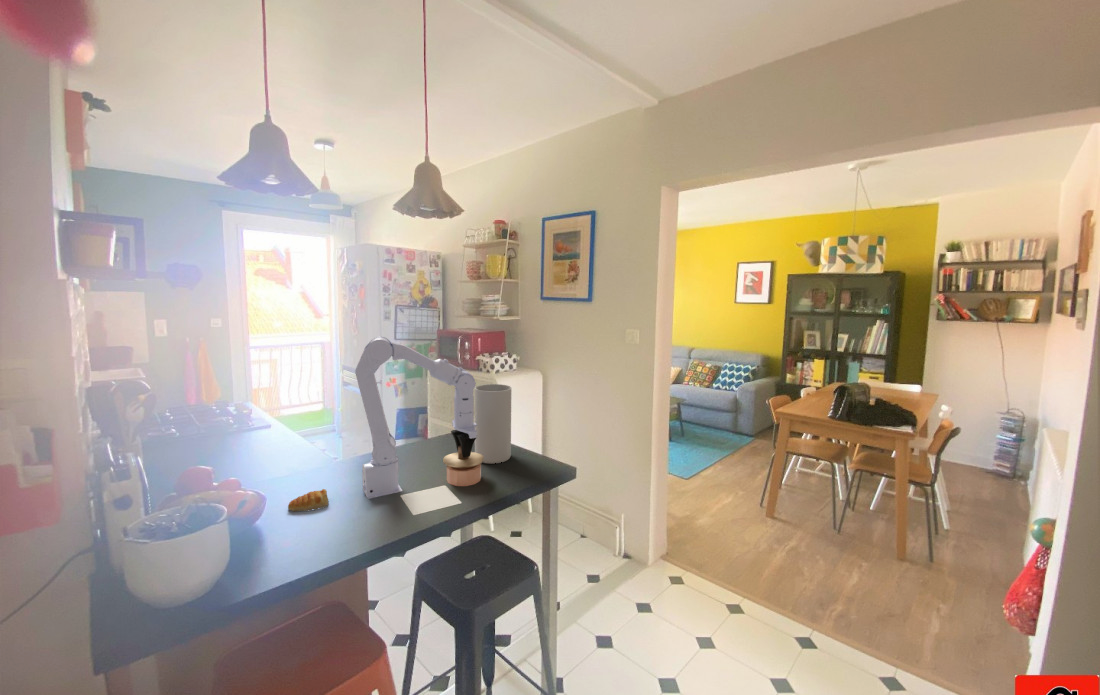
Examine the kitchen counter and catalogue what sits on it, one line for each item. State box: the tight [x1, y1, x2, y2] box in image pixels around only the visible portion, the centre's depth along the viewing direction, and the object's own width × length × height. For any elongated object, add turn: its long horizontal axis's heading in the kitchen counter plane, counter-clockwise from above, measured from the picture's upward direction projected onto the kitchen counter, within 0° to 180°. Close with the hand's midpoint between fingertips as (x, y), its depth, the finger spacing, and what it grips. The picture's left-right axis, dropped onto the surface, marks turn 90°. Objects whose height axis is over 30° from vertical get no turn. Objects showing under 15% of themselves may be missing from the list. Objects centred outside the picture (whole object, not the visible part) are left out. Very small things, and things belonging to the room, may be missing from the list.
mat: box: [399, 484, 463, 516], centre depth 119 cm, size 13×13×1 cm
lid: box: [442, 446, 484, 467], centre depth 132 cm, size 12×12×4 cm
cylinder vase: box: [474, 383, 512, 465], centre depth 151 cm, size 12×12×25 cm
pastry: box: [287, 488, 330, 513], centre depth 115 cm, size 9×7×4 cm
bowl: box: [446, 463, 482, 487], centre depth 133 cm, size 10×10×5 cm
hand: (463, 454), depth 132 cm, fingers closed on lid, 3 cm apart
